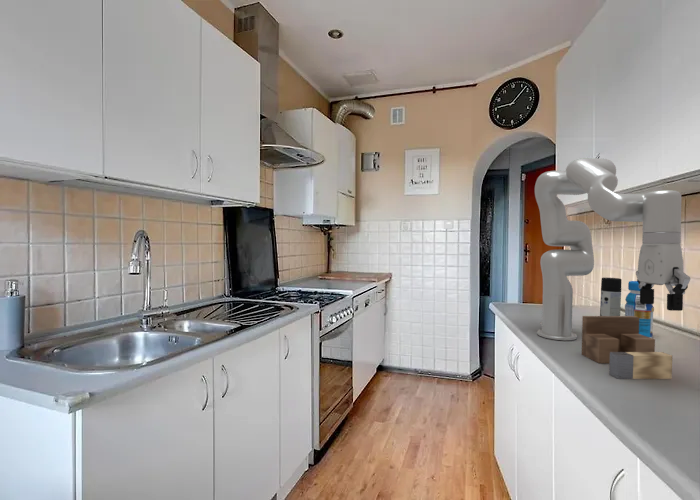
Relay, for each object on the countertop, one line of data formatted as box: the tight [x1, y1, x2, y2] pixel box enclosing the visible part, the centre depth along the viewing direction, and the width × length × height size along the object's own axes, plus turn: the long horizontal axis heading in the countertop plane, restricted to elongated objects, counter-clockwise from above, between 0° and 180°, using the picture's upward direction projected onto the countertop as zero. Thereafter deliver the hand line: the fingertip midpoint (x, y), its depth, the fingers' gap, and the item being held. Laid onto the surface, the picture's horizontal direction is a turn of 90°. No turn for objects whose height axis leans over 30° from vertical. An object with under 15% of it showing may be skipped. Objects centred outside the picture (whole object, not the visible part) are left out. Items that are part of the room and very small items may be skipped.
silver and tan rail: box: [608, 351, 673, 380], centre depth 97 cm, size 14×3×6 cm, turn 90°
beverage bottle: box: [624, 280, 655, 338], centre depth 136 cm, size 8×8×20 cm
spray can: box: [599, 277, 623, 316], centre depth 148 cm, size 7×7×20 cm
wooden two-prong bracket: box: [581, 315, 656, 364], centre depth 111 cm, size 8×16×12 cm, turn 90°
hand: (660, 306), depth 95 cm, fingers open, 9 cm apart
